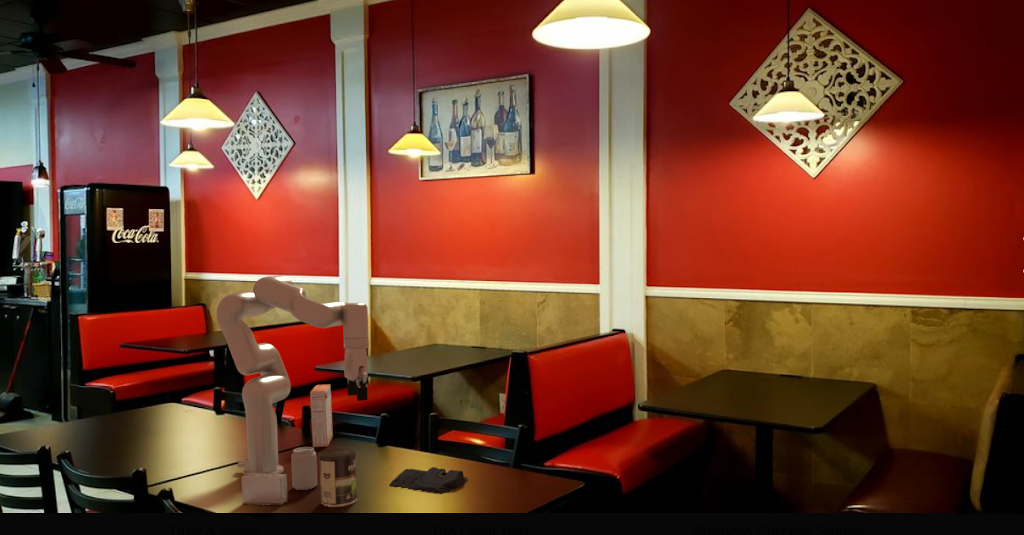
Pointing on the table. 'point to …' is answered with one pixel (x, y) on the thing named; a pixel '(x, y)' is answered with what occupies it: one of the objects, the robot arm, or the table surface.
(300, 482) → the can
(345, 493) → the coffee can
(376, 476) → the table surface
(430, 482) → the dark slate chunk
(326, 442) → the cracker box
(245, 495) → the pinkish brown box
